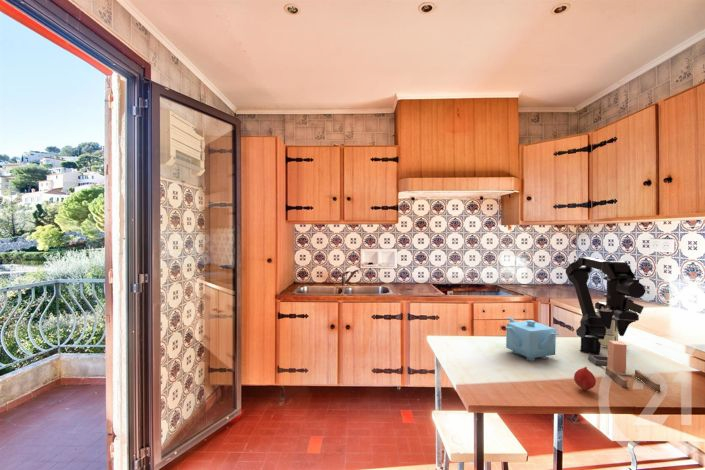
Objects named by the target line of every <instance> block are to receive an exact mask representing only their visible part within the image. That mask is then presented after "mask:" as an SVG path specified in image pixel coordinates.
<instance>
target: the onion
mask: <svg viewBox="0 0 705 470" xmlns="http://www.w3.org/2000/svg"><path fill="white" fill-rule="evenodd" d="M573 375H574V376H573V381H574V382H575V384H576V385H577V386H578V387H579V388H580V389H581V390H583V391H584V392H586V391H589V390H591V389H593V388H594V387H595V386H596V383H597V379H596V377H595V375H594V374H593V372H591V371H590V370H589V369H588V367H587V366H583V367H581V368H580V369H577V370H576V372H574V374H573Z"/></svg>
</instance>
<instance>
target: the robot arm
mask: <svg viewBox="0 0 705 470" xmlns="http://www.w3.org/2000/svg"><path fill="white" fill-rule="evenodd" d="M593 269H595V270H600V271H601V273H603V274H605V275H606V276H604V277H603V278H602V279H603V281H604V280H605V281H606V290H605V291H606V293H604V294H603V297H605V298H606V301H605V302H603V301H597V302H596V303H595V304H594V303H593V299H592V296H591V295H592V294H591V293H590V289H589V286H588V281H589V279H590V273H592V271H593ZM565 274H566V277H567V279H568V281H569V282H570V283H571V284H573V286H574V289H575V292H576V293H575V294H576V296H577V301H578V304H579V307H580V311H581V314H582V317H581V318H580V322H579V323H580V326H578V328H577V329H575V332H576V336H577V337H580V349H579V351H580V352H583V353H587V354H591V355H598V356H600V353H601V346H600V345H601V342H599V339H604V337H605V334H606V328H607V329H610V327H611V322H612V316H613V315H614V316H615V317H616V318H614V320H615V323H616V327H617V330H618V336H620V337H624V336H625V334H626V332H627V330H628V329H629V326H630V324H632V323H635V322H638V321H639V319H640V315H641V314H642V312H643V310H644V308H645V306H643V305H640V304H638V303H635V302H634V300H633V299H630V298H634V299H639V298H642V297H644V295H645V293H646V288H645V286H644V285H643V284H642V283H641V282H640V279H638V278H636V275H635V274H634V273H633V270H632V269H631V266H630V265H629V264H628V262H627V261H619V260H616V261H615V260H604V259H603V260H602V259H598V258H594V257H591V256H580V257H579V258H577V260H575V261H573V262H571V263H569V265H568V266H567V267H566V268H565ZM629 297H630V298H629ZM596 312H598V313H599V315H600V317H598V316H597V315H596Z"/></svg>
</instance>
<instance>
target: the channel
mask: <svg viewBox="0 0 705 470" xmlns="http://www.w3.org/2000/svg"><path fill="white" fill-rule="evenodd" d="M604 370H605V369H604ZM605 375H607V376H608V377H609V378H611V379H612V380H613V381H614V382H615V383H617V384H618V385H619V386H620V387H621V388H623V389H628V383H629V382H628V380H627V379H626V378H625V377H623V375H619V374H618V373H616V372H615V371H614V370H612V369H611V368H610V367H606V370H605ZM634 377H635V378H636V377H637V378H639V379H640V380H642V381H643V382H644V383H645V384H644V383H643V382H642V383H643V384H644V385H646V384H647V385H648V386H647V385H646V386H647V387H649V386H650V387H651V388H652V390H653V389H654V390H655V391H654V390H653V391H654V392H656V391H658V393H661V384H660V382H657V381H656V380H654V379H653V378H651V377H650V376H649V375H647V374H645V373H643V372H642V371H640V369H639V370H638V369H635V370H634ZM637 378H636V379H637ZM639 379H638V380H639ZM640 380H639V381H640ZM650 387H649V388H650ZM651 388H650V389H651Z"/></svg>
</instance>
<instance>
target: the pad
mask: <svg viewBox="0 0 705 470" xmlns="http://www.w3.org/2000/svg"><path fill="white" fill-rule="evenodd" d="M600 367H601V368H602V369H603V370H606V367H607V366H600ZM616 373H618V374H619V375H620V376H628V375H629V376H628V377H632V376H633V374H632V373H631V372H629V371H627V370H626V373H620V372H616Z"/></svg>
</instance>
